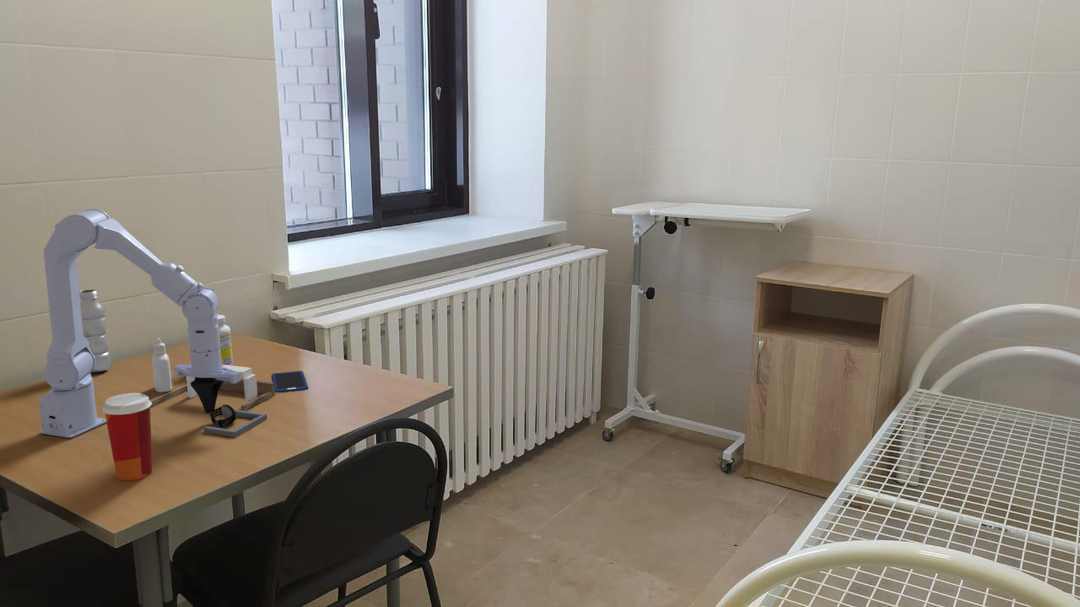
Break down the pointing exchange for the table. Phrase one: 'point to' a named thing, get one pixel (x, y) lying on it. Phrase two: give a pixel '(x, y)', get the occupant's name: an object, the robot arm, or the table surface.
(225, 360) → the supplement bottle
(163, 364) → the eye dropper bottle
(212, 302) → the robot arm
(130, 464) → the paper cup
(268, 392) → the track
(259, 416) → the frame
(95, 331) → the plastic bottle
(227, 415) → the smartwatch
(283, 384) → the cell phone
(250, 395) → the clamp arch
